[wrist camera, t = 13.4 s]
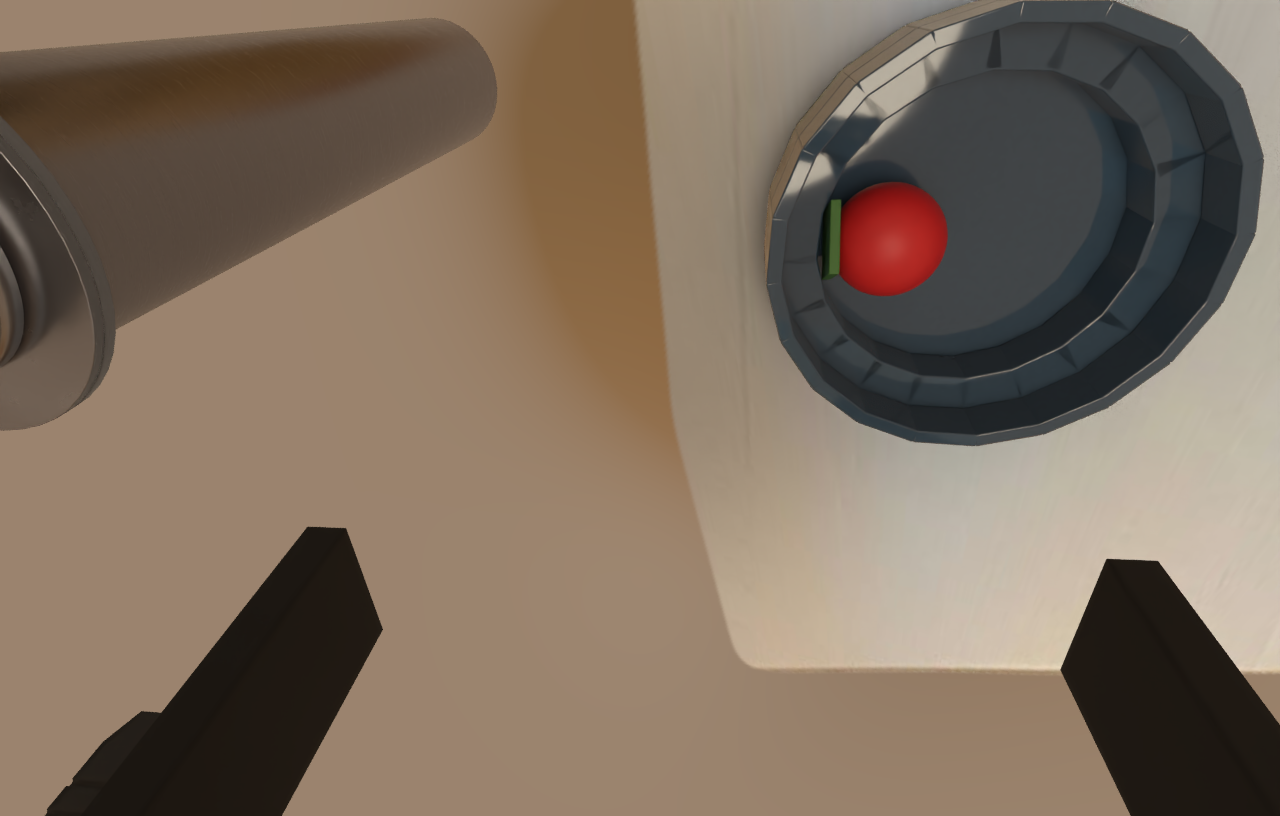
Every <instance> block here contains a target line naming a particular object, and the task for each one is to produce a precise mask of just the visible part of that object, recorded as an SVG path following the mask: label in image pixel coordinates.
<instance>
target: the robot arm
mask: <svg viewBox="0 0 1280 816" xmlns="http://www.w3.org/2000/svg"><path fill="white" fill-rule="evenodd" d="M23 328H24V310H23V304H22V298H21V294H20V291H19V287H18V284H17V281H16V278H15V275H14V273H13V271H12V268H11V266H10V264H9V262H8V259H7V258H6V256H5V254H4V252H3V250H2V248H1V246H0V367H2V366H3V365H5V364H6V363H7V362H8V361H9V360H10V359H11V358H12V357H13V356H14V354H15V352H16V351H17V349H18V347H19V345H20V342H21V339H22V335H23ZM382 630H383V629H382V626H381V623H380V620H379V618H378V615H377V612H376V609H375V607H374V604H373V601H372V599H371V596H370V593H369V590H368V588H367V585H366V582H365V580H364V576H363V574H362V571H361V568H360V565H359V563H358V560H357V557H356V554H355V552H354V549H353V546H352V544H351V541H350V538H349V535H348V532H347V530H346V528H326V527H307V528H306V530H305V531H304V532H303V533H302V535H301V536H300V537H299V539H298V540H297V541H296V542H295V543H294V545H293V546H292V547H291V549H290V550H289V551H288V552H287V554H286V555H285V556H284V558H283V559H282V560H281V561H280V563H279V564H278V565H277V566H276V568H275V569H274V570H273V571H272V573H271V574H270V576H269V577H268V578H267V579H266V580H265V582H264V583H263V584H262V585H261V587H260V588H259V589H258V591H257V592H256V593H255V594H254V596H253V597H252V598H251V599H250V601H249V602H248V603H247V605H246V606H245V607H244V608H243V610H242V611H241V612H240V613H239V615H238V616H237V617H236V619H235V620H234V621H233V622H232V624H231V625H230V626H229V628H228V629H227V630H226V631H225V633H224V634H223V635H222V636H221V638H220V639H219V640H218V641H217V643H216V644H215V645H214V647H213V648H212V649H211V650H210V652H209V653H208V654H207V656H206V657H205V658H204V659H203V661H202V662H201V663H200V664H199V666H198V667H197V668H196V669H195V671H194V672H193V673H192V674H191V676H190V677H189V678H188V680H187V681H186V682H185V683H184V685H183V686H182V687H181V688H180V690H179V691H178V692H177V694H176V695H175V696H174V697H173V699H172V700H171V701H170V702H169V704H168V705H167V706H166V708H165V709H164V710H163V711H162V713H157V712H144V711H141V712H140V713H139V714H137V715H136V716H135V717H134V718H132V719H131V720H130V721H129V722H127V723H126V724H125V725H124V726H122V727H121V728H120V729H119V730H117V731H116V732H115V733H114V734H112V735H111V736H110V737H109V738H107V739H106V740H105V741H104V742H103V743H102V744H101V745H100V746H99V747H98V749H97V750H96V751H95V752H94V753H93V755H92V756H91V757H90V758H89V759H88V761H87V762H86V763H85V764H84V765H83V767H82V768H81V769H80V770H79V771H78V773H77V774H76V775H75V776H74V777H73V782H72V784H71V785H70V786H66V787H65V788H64V789H63V791H62V792H61V793H60V794H59V795H58V797H57V798H56V799H55V800H54V801H53V803H52V804H51V805H50V806H49V807H48V809H47V814H46V815H45V816H282V814H283V812H284V811H285V809H286V807H287V805H288V803H289V801H290V800H291V798H292V795H293V794H294V792H295V790H296V789H297V787H298V785H299V783H300V781H301V779H302V777H303V776H304V774H305V772H306V770H307V768H308V766H309V764H310V763H311V761H312V759H313V757H314V755H315V754H316V752H317V750H318V748H319V746H320V744H321V742H322V740H323V739H324V737H325V735H326V733H327V731H328V730H329V727H330V726H331V724H332V722H333V720H334V719H335V716H336V715H337V713H338V711H339V709H340V707H341V706H342V704H343V702H344V700H345V698H346V696H347V695H348V693H349V690H350V689H351V687H352V685H353V684H354V682H355V680H356V678H357V676H358V674H359V672H360V671H361V669H362V667H363V665H364V663H365V661H366V659H367V658H368V656H369V654H370V652H371V650H372V648H373V647H374V645H375V643H376V641H377V639H378V637H379V636H380V634H381V632H382ZM1061 672H1062V674H1063V676H1064V678H1065V680H1066V682H1067V685H1068V686H1069V689H1070V691H1071V692H1072V695H1073V697H1074V699H1075V701H1076V703H1077V705H1078V707H1079V709H1080V711H1081V713H1082V715H1083V717H1084V720H1085V722H1086V724H1087V726H1088V728H1089V730H1090V732H1091V734H1092V736H1093V738H1094V741H1095V743H1096V745H1097V747H1098V749H1099V751H1100V753H1101V755H1102V757H1103V759H1104V761H1105V763H1106V765H1107V767H1108V770H1109V771H1110V774H1111V776H1112V778H1113V780H1114V782H1115V784H1116V786H1117V788H1118V790H1119V792H1120V794H1121V797H1122V798H1123V801H1124V802H1125V805H1126V807H1127V809H1128V811H1129V813H1130V815H1131V816H1280V725H1279V723H1278V722H1277V721H1276V719H1275V718H1274V716H1273V715H1272V714H1271V712H1270V711H1269V710H1268V708H1267V707H1266V706H1265V704H1264V703H1263V702H1262V700H1261V699H1260V698H1259V696H1258V695H1257V694H1256V692H1255V691H1254V690H1253V689H1252V687H1251V686H1250V684H1249V683H1248V682H1247V680H1246V679H1245V678H1244V676H1243V675H1242V673H1241V672H1240V671H1239V669H1238V668H1237V667H1236V665H1235V664H1234V663H1233V661H1232V660H1231V659H1230V657H1229V656H1228V655H1227V653H1226V652H1225V651H1224V649H1223V648H1222V646H1221V645H1220V644H1219V642H1218V641H1217V640H1216V638H1215V637H1214V636H1213V634H1212V633H1211V632H1210V630H1209V629H1208V628H1207V626H1206V625H1205V624H1204V622H1203V621H1202V620H1201V618H1200V617H1199V616H1198V614H1197V613H1196V612H1195V610H1194V609H1193V607H1192V606H1191V605H1190V603H1189V602H1188V601H1187V599H1186V598H1185V597H1184V595H1183V594H1182V593H1181V591H1180V590H1179V589H1178V587H1177V586H1176V585H1175V583H1174V582H1173V581H1172V579H1171V578H1170V577H1169V575H1168V574H1167V573H1166V571H1165V570H1164V568H1163V567H1162V566H1161V564H1160V563H1159V562H1158V561H1145V560H1121V559H1106V561H1105V564H1104V566H1103V569H1102V571H1101V573H1100V576H1099V578H1098V581H1097V583H1096V585H1095V588H1094V590H1093V593H1092V595H1091V598H1090V600H1089V602H1088V605H1087V607H1086V610H1085V612H1084V614H1083V617H1082V619H1081V622H1080V624H1079V626H1078V629H1077V631H1076V634H1075V636H1074V638H1073V641H1072V643H1071V646H1070V648H1069V650H1068V653H1067V655H1066V658H1065V660H1064V662H1063V665H1062V667H1061Z"/></svg>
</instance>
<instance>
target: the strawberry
mask: <svg viewBox="0 0 1280 816" xmlns="http://www.w3.org/2000/svg"><path fill="white" fill-rule="evenodd" d="M947 240H948V229H947V223H946V219H945V216H944V213H943V211H942V209H941V208H940V206H939V204H938V203H937V202H936V201H935V199H934V198H933V197H932V196H930V195H929V194H928V193H927V192H925V191H924V190H922V189H921V188H918V187H916V186H914V185H911V184H908V183H902V182H885V183H879V184H875V185H872V186H870V187H867V188H865V189H863V190H861V191H860V192H858V193H857V194H855V195H854V196H853V197H852V198H851V199H849V200H848V201H847V202H846V203H845V205H844V206H843V207H842V208H841V200H840V199H835V200H831V201H830V202H829V204H828V206H827V207H826V209H825V211H824V213H823V241H822V280H830V279H832V278H834V277H835V276H837V275H838V274H839V275H840V276H841V277H842V278H843V280H844V281H845V282H847V283H848V284H849V285H850V286H852V287H853V288H855V289H856V290H858V291H860V292H863V293H866V294H869V295H874V296H894V295H898V294H902V293H905V292H908V291H910V290H912V289H914V288H916V287H917V286H919V285H920V284H922V283H923V282H924V281H926V280H927V279H928V278H929V277H930V276H931V275H932V274H933V273H934V271H935V270H936V269H937V267H938V266H939V264H940V262H941V260H942V258H943V256H944V253H945V250H946V246H947Z"/></svg>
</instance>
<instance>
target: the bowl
mask: <svg viewBox="0 0 1280 816" xmlns="http://www.w3.org/2000/svg"><path fill="white" fill-rule="evenodd" d="M1263 157H1264V155H1263V152H1262V149H1261V146H1260V142H1259V139H1258V136H1257V133H1256V129H1255V126H1254V123H1253V120H1252V116H1251V113H1250V110H1249V106H1248V103H1247V100H1246V97H1245V93H1244V90H1243V88H1242V87H1241V84H1240V83H1239V82H1238V81H1237V80H1236V79H1235V78H1234V77H1233V76H1232V75H1231V74H1230V73H1229V72H1228V71H1227V69H1226V68H1225V67H1224V66H1223V65H1222V64H1221V63H1220V62H1219V61H1218V60H1217V59H1216V58H1215V57H1214V56H1213V55H1212V54H1211V52H1210V51H1209V50H1208V49H1207V48H1206V47H1205V46H1204V45H1203V44H1202V43H1201V42H1200V41H1199V40H1198V39H1197V38H1196V37H1195V36H1194V34H1193V33H1192V32H1190V31H1188V29H1185V28H1183V27H1180V26H1178V25H1175V24H1172V23H1170V22H1167V21H1165V20H1162V19H1160V18H1157V17H1155V16H1152V15H1149V14H1147V13H1144V12H1142V11H1139V10H1137V9H1134V8H1131V7H1129V6H1126V5H1124V4H1121V3H1119V2H1116V1H1110V0H977V1H974V2H971V3H968V4H965V5H962V6H959V7H956V8H953V9H950V10H947V11H944V12H941V13H938V14H935V15H932V16H930V17H927V18H924V19H921V20H918V21H915V22H912V23H909V24H907V25H906V26H903V27H902V28H900V29H899V30H897V31H896V32H895V33H893V34H892V35H890V36H889V37H887V38H886V39H885V40H883V41H882V42H880V43H879V44H878V45H876V46H875V47H873V48H872V49H870V50H869V51H868V52H866V53H865V54H863V55H862V56H861V57H859V58H858V59H856V60H855V61H853V62H852V63H851V64H849V65H848V66H846V67H845V68H844V69H843V70H842V71H840V72H839V74H838V75H837V76H836V77H835V78H834V80H833V81H832V82H831V83H830V85H829V86H828V87H827V88H826V90H825V91H824V92H823V93H822V95H821V96H820V97H819V98H818V100H817V101H816V102H815V103H814V104H813V106H812V107H811V108H810V109H809V111H808V112H807V113H806V114H805V116H804V117H803V118H802V119H801V121H800V122H799V123H798V124H797V126H796V128H795V129H794V131H793V133H792V136H791V138H790V141H789V143H788V145H787V148H786V150H785V153H784V155H783V157H782V160H781V162H780V165H779V167H778V169H777V172H776V174H775V176H774V179H773V181H772V184H771V186H770V191H769V197H768V208H767V219H766V230H765V241H764V255H765V273H766V286H767V290H768V294H769V298H770V302H771V307H772V311H773V315H774V319H775V323H776V327H777V331H778V335H779V339H780V341H781V344H782V345H783V347H784V348H785V349H786V351H787V352H788V354H789V355H790V357H791V358H792V360H793V361H794V363H795V364H796V366H797V367H798V369H799V370H800V372H801V373H802V375H803V376H804V378H805V379H806V381H807V382H808V384H809V385H810V387H811V388H812V389H813V390H814V391H816V392H817V393H818V394H820V395H821V396H822V397H824V398H825V399H826V400H828V401H829V402H830V403H832V404H833V405H835V406H836V407H837V408H839V409H840V410H841V411H843V412H844V413H845V414H847V415H848V416H849V417H851V418H852V419H853V420H855V421H856V422H858V423H860V424H863V425H866V426H869V427H872V428H875V429H877V430H880V431H883V432H886V433H889V434H892V435H894V436H897V437H900V438H903V439H906V440H909V441H913V442H921V443H936V444H950V445H964V446H975V445H976V446H980V445H986V444H992V443H998V442H1004V441H1009V440H1015V439H1021V438H1027V437H1033V436H1038V435H1042V434H1043V435H1044V434H1046V433H1049V432H1051V431H1053V430H1056V429H1058V428H1061V427H1063V426H1065V425H1068V424H1070V423H1073V422H1075V421H1077V420H1080V419H1082V418H1085V417H1087V416H1089V415H1092V414H1094V413H1097V412H1099V411H1101V410H1104V409H1106V408H1108V407H1109V406H1111V405H1113V404H1114V403H1116V402H1117V401H1118V400H1120V399H1121V398H1123V397H1124V396H1125V395H1127V394H1128V393H1130V392H1131V391H1132V390H1134V389H1135V388H1137V387H1138V386H1140V385H1141V384H1142V383H1144V382H1145V381H1147V380H1148V379H1149V378H1151V377H1152V376H1154V375H1155V374H1156V373H1158V372H1159V371H1161V370H1162V369H1163V368H1165V367H1166V366H1168V365H1169V364H1170V362H1172V361H1173V360H1174V359H1175V358H1176V357H1177V356H1178V355H1179V353H1180V352H1181V351H1182V350H1183V349H1184V348H1185V347H1186V345H1187V344H1188V343H1189V342H1190V341H1191V340H1192V339H1193V337H1194V336H1195V335H1196V334H1197V333H1198V332H1199V330H1200V329H1201V328H1202V327H1203V326H1204V325H1205V324H1206V322H1207V321H1208V320H1209V319H1210V318H1211V317H1212V315H1213V314H1214V313H1215V312H1216V311H1217V310H1218V309H1219V307H1220V306H1221V304H1222V303H1223V302H1224V300H1225V298H1226V296H1227V294H1228V292H1229V290H1230V287H1231V285H1232V283H1233V281H1234V279H1235V277H1236V275H1237V273H1238V271H1239V268H1240V266H1241V264H1242V262H1243V260H1244V258H1245V256H1246V254H1247V252H1248V249H1249V247H1250V245H1251V243H1252V241H1253V239H1254V237H1255V233H1256V228H1257V219H1258V210H1259V200H1260V191H1261V182H1262V173H1263V164H1264V159H1263ZM885 182H902V183H908V184H911V185H914V186H916V187H918V188H921V189H922V190H924V191H925V192H927V193H928V194H929V195H930V196H932V197H933V198H934V199H935V201H936V202H937V203H938V204H939V206H940V208H941V209H942V211H943V213H944V216H945V219H946V223H947V229H948V240H947V246H946V250H945V253H944V256H943V258H942V260H941V262H940V264H939V266H938V267H937V269H936V270H935V271H934V273H933V274H932V275H931V276H930V277H929V278H928V279H927V280H926V281H924V282H923V283H922V284H920V285H919V286H917V287H916V288H914V289H912V290H910V291H908V292H905V293H902V294H898V295H894V296H874V295H869V294H866V293H863V292H860V291H858V290H856V289H855V288H853V287H852V286H850V285H849V284H848V283H847V282H845V281H844V280H843V278H842V277H841V276H840V275H839V274H838V275H837V276H835V277H834V278H832V279H830V280H822V241H823V213H824V211H825V209H826V207H827V206H828V204H829V202H830V201H831V200H835V199H840V200H841V208H842V207H843V206H844V205H845V203H846V202H847V201H848V200H849V199H851V198H852V197H853V196H854V195H855V194H857V193H858V192H860V191H861V190H863V189H865V188H867V187H870V186H872V185H875V184H879V183H885Z"/></svg>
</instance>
